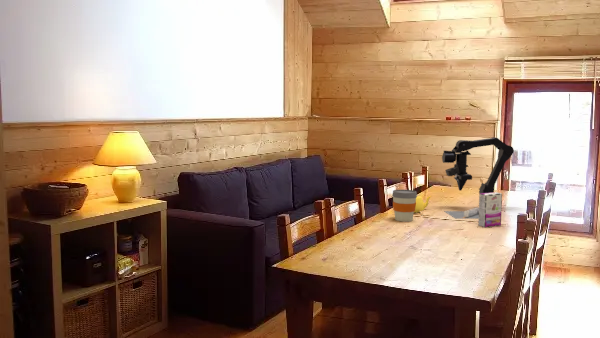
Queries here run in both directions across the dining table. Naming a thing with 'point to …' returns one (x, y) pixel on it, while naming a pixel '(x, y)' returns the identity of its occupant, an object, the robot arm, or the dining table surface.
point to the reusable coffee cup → (404, 204)
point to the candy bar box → (490, 209)
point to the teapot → (421, 204)
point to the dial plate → (461, 215)
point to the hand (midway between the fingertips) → (460, 190)
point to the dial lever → (471, 212)
